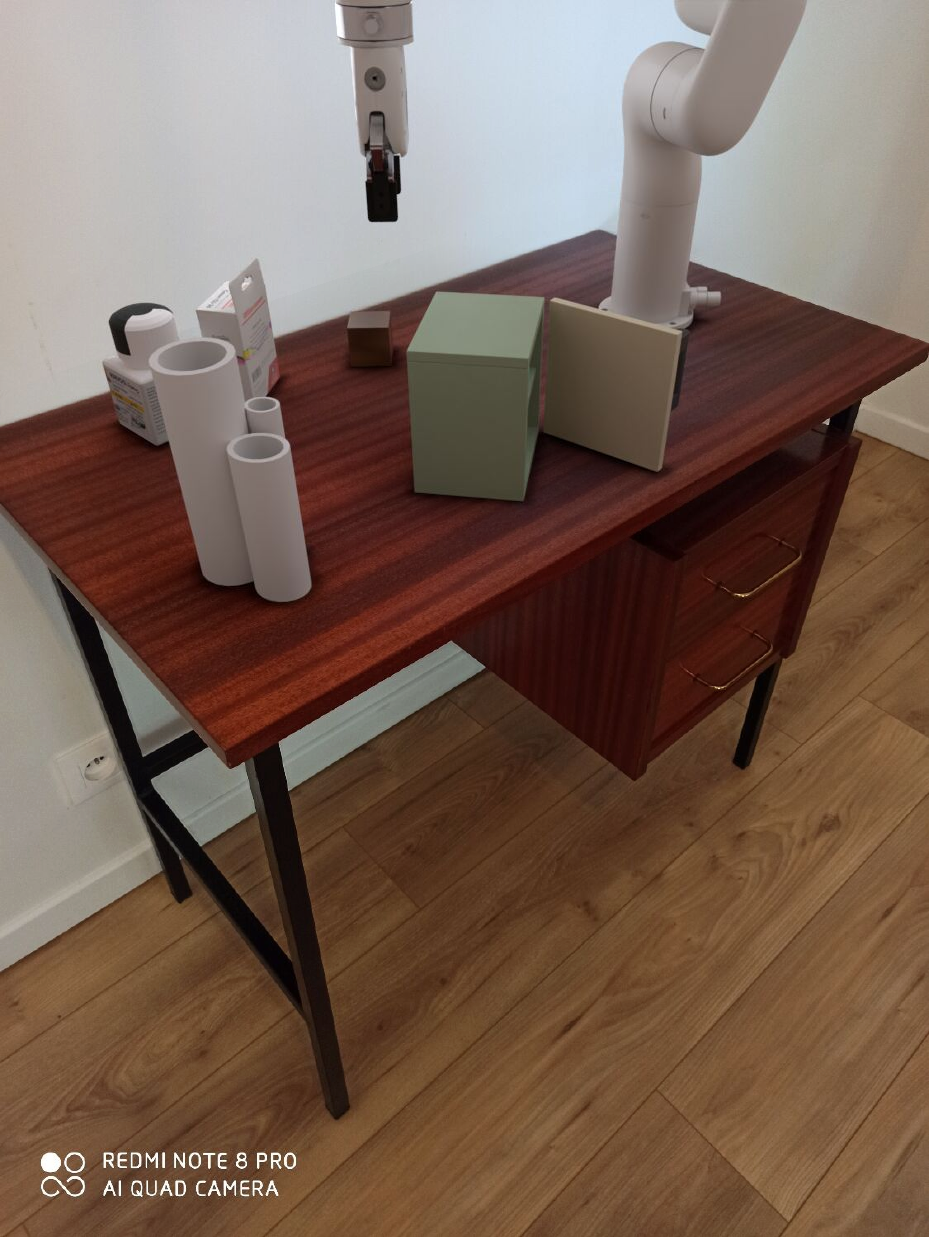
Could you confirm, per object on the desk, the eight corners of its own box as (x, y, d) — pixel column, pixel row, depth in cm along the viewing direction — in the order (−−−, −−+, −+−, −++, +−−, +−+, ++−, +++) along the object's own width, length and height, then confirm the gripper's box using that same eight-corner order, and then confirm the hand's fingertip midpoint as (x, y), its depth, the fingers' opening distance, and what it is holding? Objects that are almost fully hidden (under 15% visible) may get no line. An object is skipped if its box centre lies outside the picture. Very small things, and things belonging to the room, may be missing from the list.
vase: (186, 576, 81) (129, 367, 68) (231, 532, 86) (187, 330, 73) (295, 607, 78) (257, 393, 65) (336, 560, 83) (309, 352, 70)
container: (118, 424, 103) (85, 311, 94) (177, 400, 107) (150, 290, 98) (157, 447, 99) (126, 332, 90) (216, 421, 103) (192, 309, 94)
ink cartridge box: (243, 375, 112) (220, 252, 102) (281, 378, 111) (262, 255, 101) (214, 408, 105) (187, 281, 96) (255, 412, 104) (232, 284, 95)
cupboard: (538, 431, 100) (544, 296, 90) (523, 501, 90) (528, 358, 80) (440, 424, 102) (436, 291, 92) (414, 492, 91) (406, 350, 81)
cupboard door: (578, 406, 104) (587, 277, 94) (689, 442, 98) (712, 308, 88) (543, 432, 100) (549, 300, 90) (657, 472, 93) (677, 334, 84)
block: (393, 348, 117) (390, 310, 113) (391, 366, 113) (388, 327, 110) (354, 349, 117) (350, 311, 113) (350, 367, 113) (346, 328, 110)
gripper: (410, 39, 83) (417, 232, 94) (415, 11, 96) (420, 184, 108) (328, 40, 83) (345, 233, 94) (343, 11, 96) (356, 184, 107)
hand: (385, 207), depth 101 cm, fingers open, 9 cm apart
